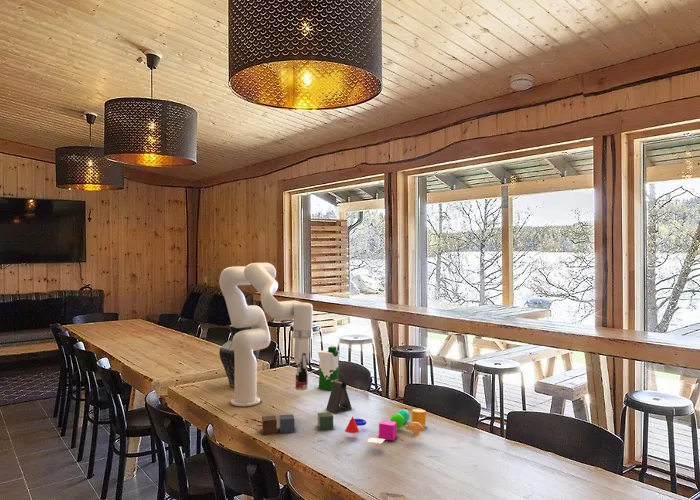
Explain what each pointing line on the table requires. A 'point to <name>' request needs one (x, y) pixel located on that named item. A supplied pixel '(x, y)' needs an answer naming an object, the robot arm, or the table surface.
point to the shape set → (392, 425)
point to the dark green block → (325, 421)
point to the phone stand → (338, 398)
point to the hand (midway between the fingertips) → (301, 379)
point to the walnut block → (269, 425)
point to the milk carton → (328, 367)
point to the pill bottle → (301, 385)
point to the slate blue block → (287, 423)
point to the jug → (231, 355)
